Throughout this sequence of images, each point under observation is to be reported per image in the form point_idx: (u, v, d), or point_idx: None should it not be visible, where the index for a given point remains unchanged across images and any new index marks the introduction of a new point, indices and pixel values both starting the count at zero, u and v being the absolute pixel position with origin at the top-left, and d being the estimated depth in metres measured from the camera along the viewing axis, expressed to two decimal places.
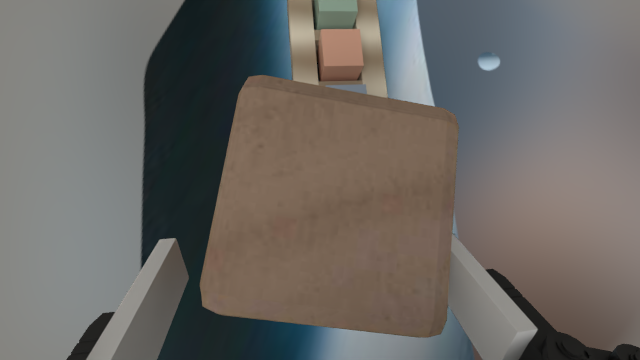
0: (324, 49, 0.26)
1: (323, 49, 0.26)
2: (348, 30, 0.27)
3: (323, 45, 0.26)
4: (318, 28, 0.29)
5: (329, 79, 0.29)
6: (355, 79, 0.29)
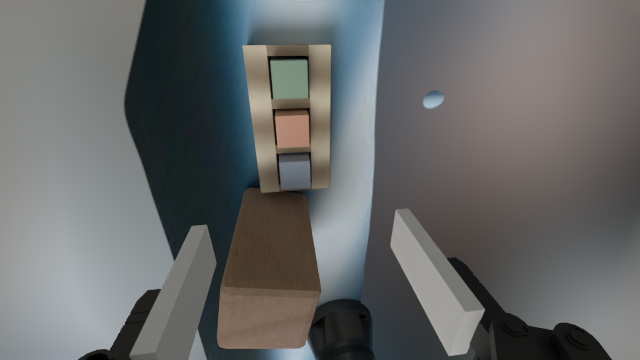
0: (278, 134, 0.32)
1: (277, 134, 0.32)
2: (298, 116, 0.32)
3: (277, 131, 0.32)
4: None
5: None
6: None
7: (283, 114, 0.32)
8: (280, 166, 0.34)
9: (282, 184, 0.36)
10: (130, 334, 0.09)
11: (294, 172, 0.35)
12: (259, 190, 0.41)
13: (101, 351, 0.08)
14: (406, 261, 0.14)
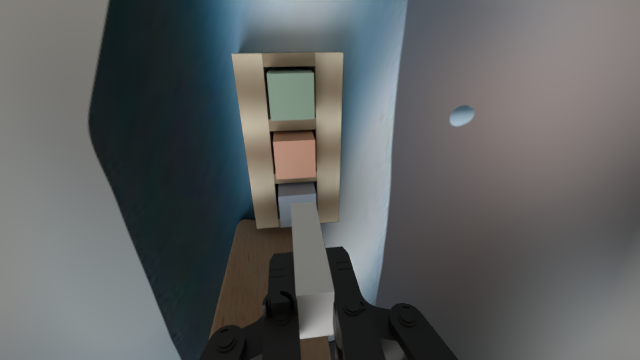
0: (276, 163, 0.26)
1: (275, 162, 0.26)
2: (302, 142, 0.25)
3: (275, 159, 0.26)
4: None
5: None
6: None
7: (283, 138, 0.26)
8: (279, 200, 0.28)
9: (282, 221, 0.29)
10: (277, 285, 0.11)
11: None
12: (255, 223, 0.35)
13: (288, 291, 0.10)
14: None
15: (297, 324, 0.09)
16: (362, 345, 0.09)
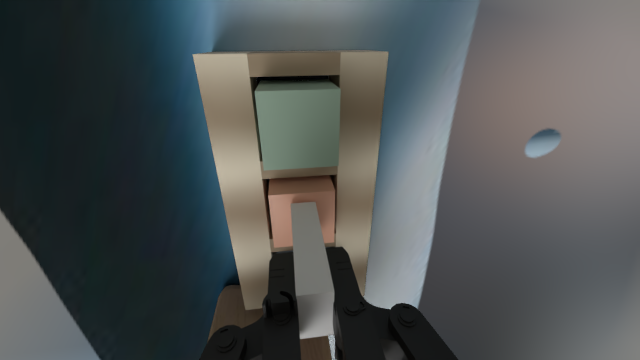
0: (274, 225, 0.17)
1: (273, 225, 0.17)
2: (315, 194, 0.16)
3: (272, 220, 0.16)
4: None
5: None
6: None
7: (285, 187, 0.16)
8: None
9: None
10: (277, 285, 0.11)
11: None
12: None
13: (288, 291, 0.10)
14: None
15: (297, 324, 0.09)
16: (362, 345, 0.09)
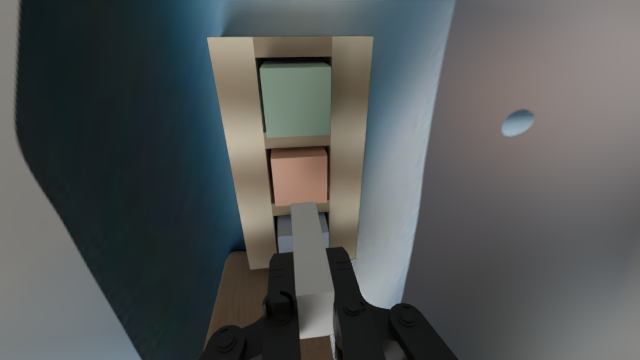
0: (276, 186, 0.20)
1: (274, 185, 0.20)
2: (310, 159, 0.19)
3: (274, 181, 0.19)
4: None
5: None
6: None
7: (285, 153, 0.19)
8: (279, 241, 0.21)
9: None
10: (277, 285, 0.11)
11: None
12: None
13: (288, 291, 0.10)
14: None
15: (297, 324, 0.09)
16: (362, 345, 0.09)
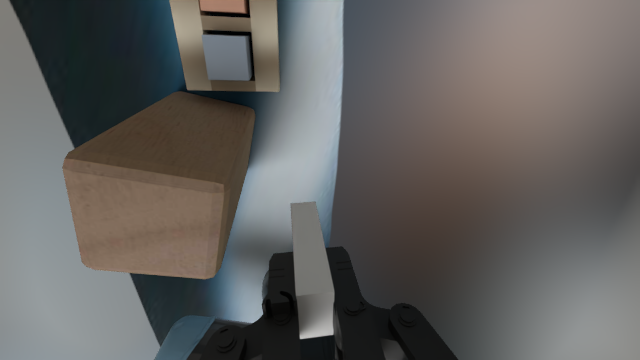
0: None
1: None
2: None
3: None
4: None
5: (216, 12, 0.27)
6: (246, 13, 0.28)
7: None
8: (204, 41, 0.25)
9: (209, 71, 0.26)
10: (277, 285, 0.11)
11: (224, 53, 0.26)
12: (191, 94, 0.32)
13: (288, 291, 0.10)
14: None
15: (297, 324, 0.09)
16: (362, 345, 0.09)
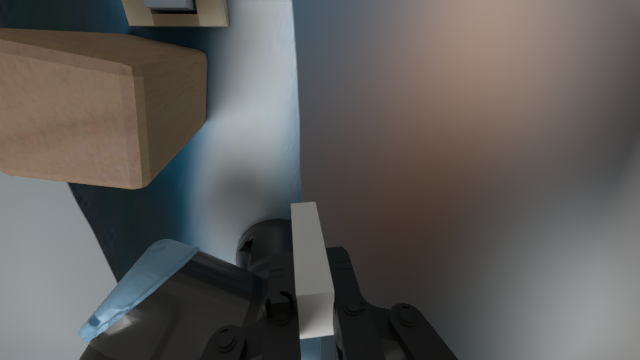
0: None
1: None
2: None
3: None
4: None
5: None
6: None
7: None
8: None
9: None
10: (277, 285, 0.11)
11: None
12: (138, 36, 0.32)
13: (288, 291, 0.10)
14: None
15: (297, 324, 0.09)
16: (362, 345, 0.09)
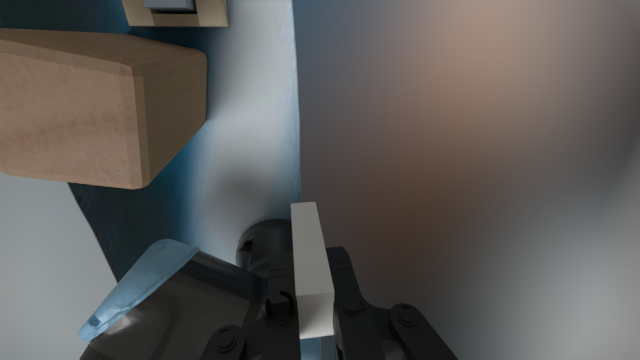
0: None
1: None
2: None
3: None
4: None
5: None
6: None
7: None
8: None
9: None
10: (277, 285, 0.11)
11: None
12: None
13: (288, 291, 0.10)
14: None
15: (297, 324, 0.09)
16: (362, 345, 0.09)
